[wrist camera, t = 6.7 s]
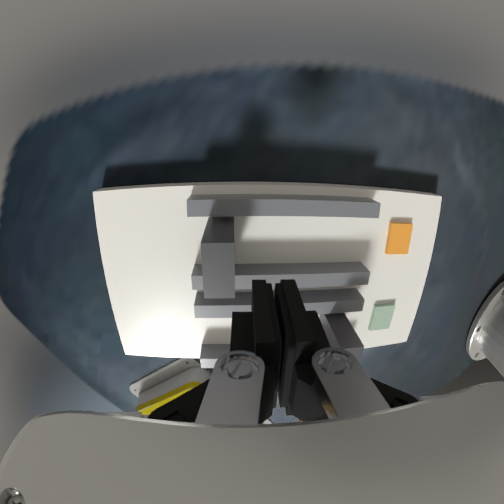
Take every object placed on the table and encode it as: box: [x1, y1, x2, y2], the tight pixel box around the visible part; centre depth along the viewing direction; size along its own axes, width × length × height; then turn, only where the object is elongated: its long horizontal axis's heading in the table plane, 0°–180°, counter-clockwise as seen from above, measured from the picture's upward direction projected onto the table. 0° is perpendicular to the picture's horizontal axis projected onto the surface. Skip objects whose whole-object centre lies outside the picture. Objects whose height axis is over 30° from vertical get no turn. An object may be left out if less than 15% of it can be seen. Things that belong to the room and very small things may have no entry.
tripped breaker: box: [201, 217, 235, 298], centre depth 16 cm, size 2×3×5 cm, turn 0°
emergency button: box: [129, 358, 273, 424], centre depth 26 cm, size 9×4×15 cm
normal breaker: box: [319, 313, 364, 362], centre depth 19 cm, size 2×3×5 cm, turn 179°
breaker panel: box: [93, 182, 442, 368], centre depth 20 cm, size 26×14×3 cm, turn 89°
